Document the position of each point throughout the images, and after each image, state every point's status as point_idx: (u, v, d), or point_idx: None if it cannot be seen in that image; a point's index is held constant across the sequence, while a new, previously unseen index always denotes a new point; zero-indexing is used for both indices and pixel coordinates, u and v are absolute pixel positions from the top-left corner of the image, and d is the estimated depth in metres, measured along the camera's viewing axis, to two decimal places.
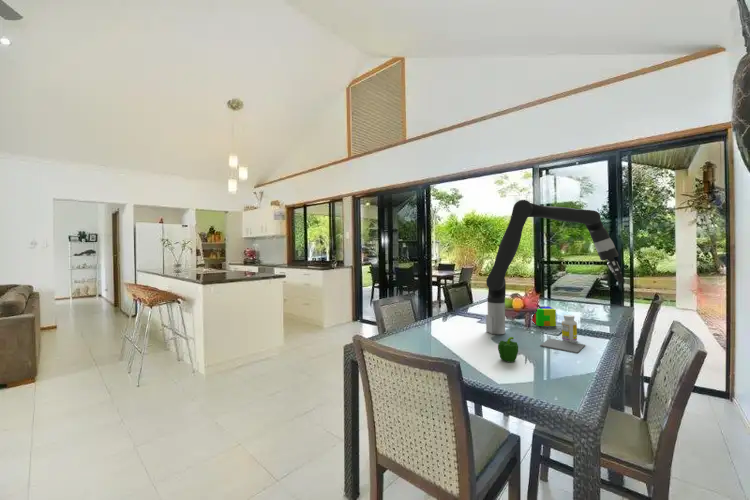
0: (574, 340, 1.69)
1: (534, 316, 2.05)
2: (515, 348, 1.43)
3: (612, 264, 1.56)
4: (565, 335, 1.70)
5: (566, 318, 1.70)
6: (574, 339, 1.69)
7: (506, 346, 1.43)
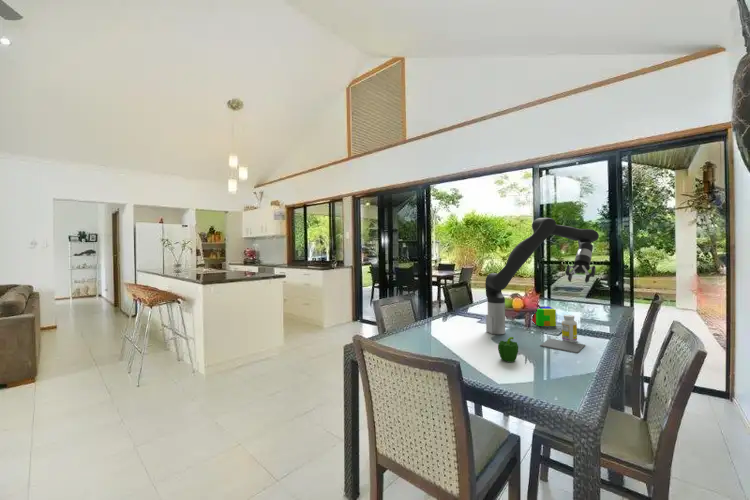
0: (574, 340, 1.69)
1: (534, 316, 2.05)
2: (515, 348, 1.43)
3: (594, 268, 1.82)
4: (565, 335, 1.70)
5: (566, 318, 1.70)
6: (574, 339, 1.69)
7: (506, 346, 1.43)
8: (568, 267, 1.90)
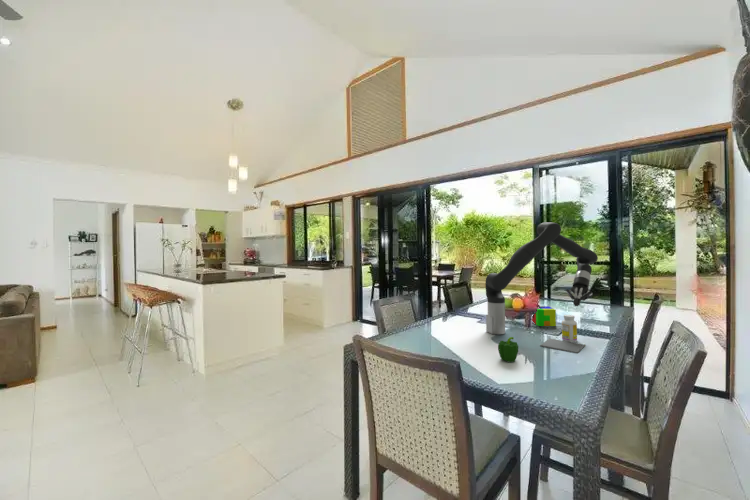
0: (574, 340, 1.69)
1: (534, 316, 2.05)
2: (515, 348, 1.43)
3: (590, 294, 1.81)
4: (565, 335, 1.70)
5: (566, 318, 1.70)
6: (574, 339, 1.69)
7: (506, 346, 1.43)
8: (569, 291, 1.88)
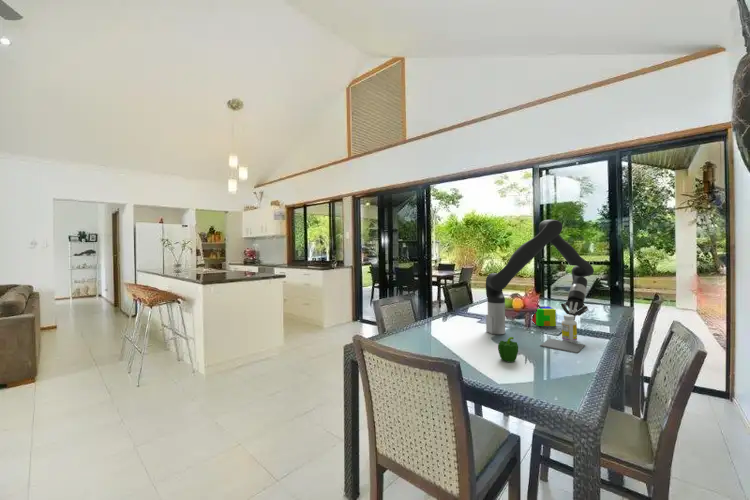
0: (574, 340, 1.69)
1: (534, 316, 2.05)
2: (515, 348, 1.43)
3: (585, 308, 1.74)
4: (565, 335, 1.70)
5: (566, 318, 1.70)
6: (574, 339, 1.69)
7: (506, 346, 1.43)
8: (564, 305, 1.80)
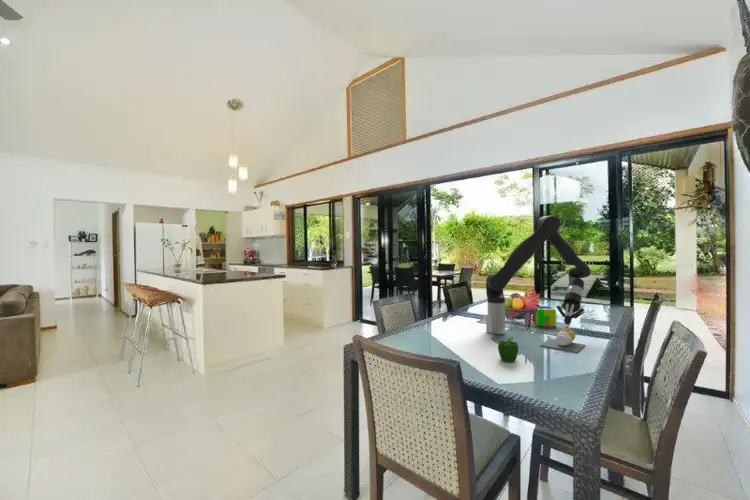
0: (573, 339, 1.67)
1: (534, 316, 2.05)
2: (515, 348, 1.43)
3: (582, 311, 1.68)
4: None
5: None
6: (573, 339, 1.66)
7: (506, 346, 1.43)
8: (560, 308, 1.75)
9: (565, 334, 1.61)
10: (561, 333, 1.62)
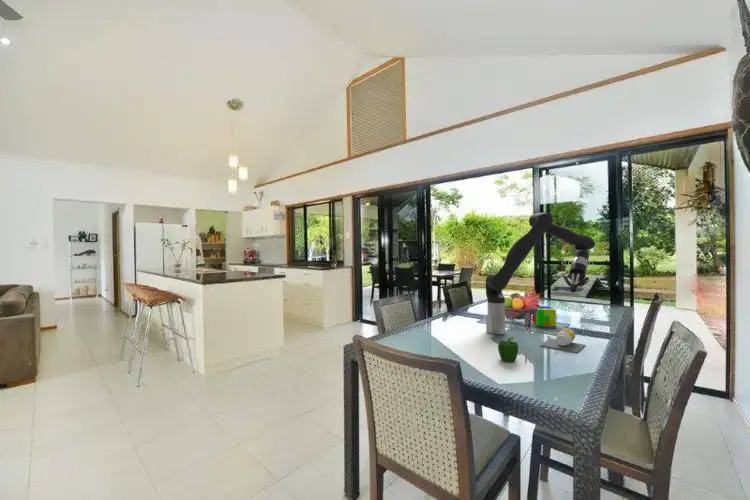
0: (573, 339, 1.67)
1: (534, 316, 2.05)
2: (515, 348, 1.43)
3: (587, 280, 1.77)
4: None
5: None
6: (573, 339, 1.66)
7: (506, 346, 1.43)
8: (566, 278, 1.84)
9: (565, 334, 1.61)
10: (561, 333, 1.62)
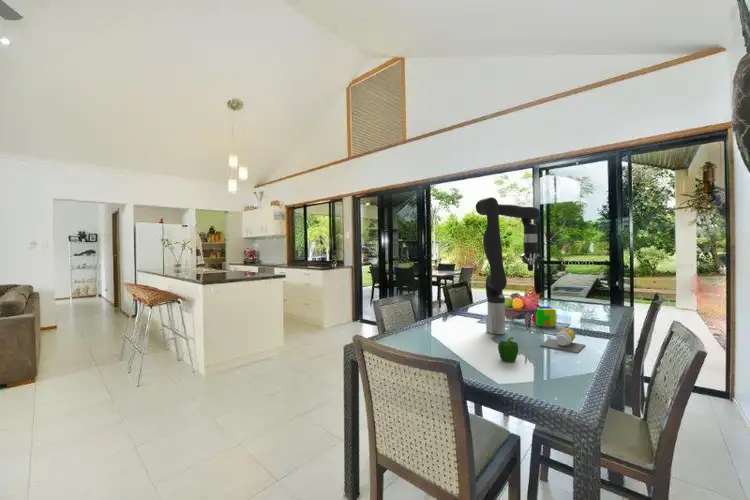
0: (573, 339, 1.67)
1: (534, 316, 2.05)
2: (515, 348, 1.43)
3: None
4: None
5: None
6: (573, 339, 1.66)
7: (506, 346, 1.43)
8: (525, 258, 1.97)
9: (565, 334, 1.61)
10: (561, 333, 1.62)
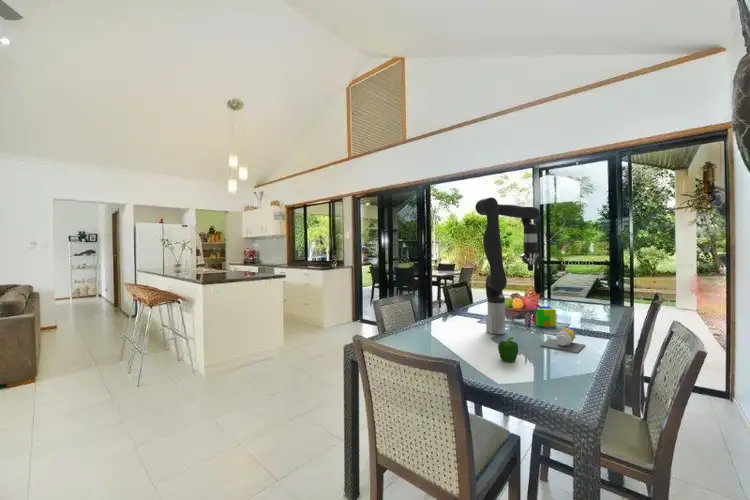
0: (573, 339, 1.67)
1: (534, 316, 2.05)
2: (515, 348, 1.43)
3: None
4: None
5: None
6: (573, 339, 1.66)
7: (506, 346, 1.43)
8: None
9: (565, 334, 1.61)
10: (561, 333, 1.62)
